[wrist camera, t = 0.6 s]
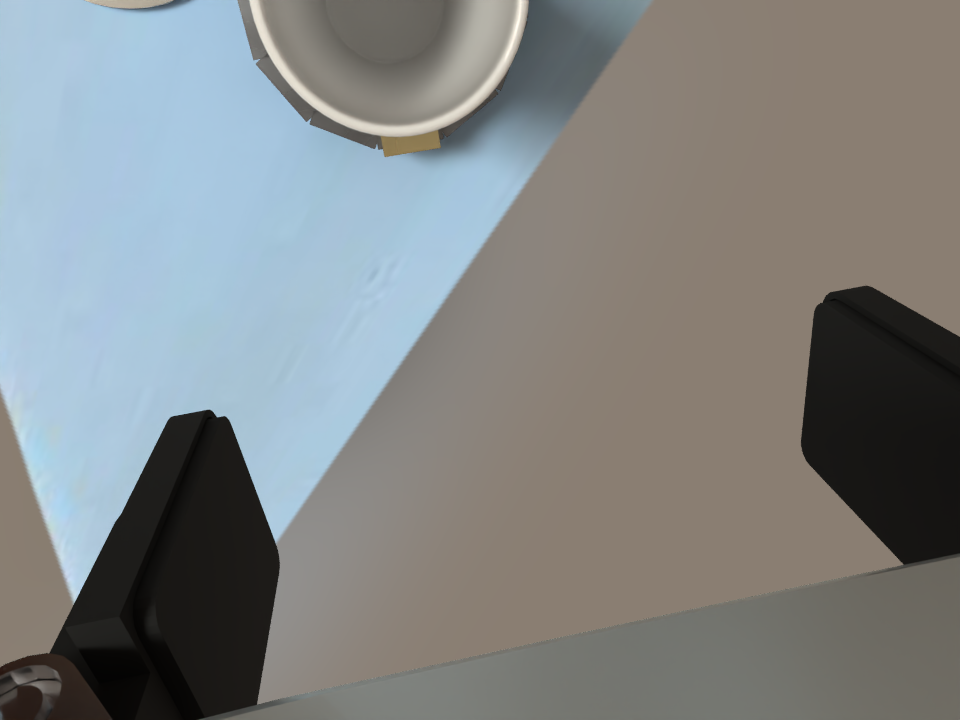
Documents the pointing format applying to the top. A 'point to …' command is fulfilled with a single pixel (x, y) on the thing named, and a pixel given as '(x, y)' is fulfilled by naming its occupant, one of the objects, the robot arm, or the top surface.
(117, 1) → the disc
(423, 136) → the collar
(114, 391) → the top surface
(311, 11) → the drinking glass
